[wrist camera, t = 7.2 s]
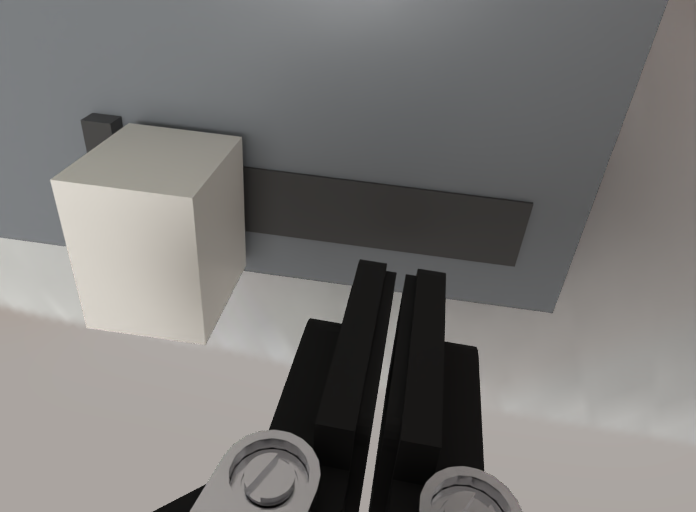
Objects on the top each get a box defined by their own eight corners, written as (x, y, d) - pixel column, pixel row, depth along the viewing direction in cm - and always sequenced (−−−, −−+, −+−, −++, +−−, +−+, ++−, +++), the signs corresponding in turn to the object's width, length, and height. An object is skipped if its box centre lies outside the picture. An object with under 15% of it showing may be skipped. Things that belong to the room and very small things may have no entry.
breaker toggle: (242, 136, 14) (192, 198, 11) (246, 265, 16) (205, 345, 13) (128, 122, 14) (49, 179, 11) (148, 251, 16) (86, 328, 13)
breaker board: (761, -348, 10) (835, -405, 8) (543, 283, 17) (556, 326, 16) (-178, -407, 11) (-297, -469, 9) (9, 212, 18) (-35, 244, 17)
